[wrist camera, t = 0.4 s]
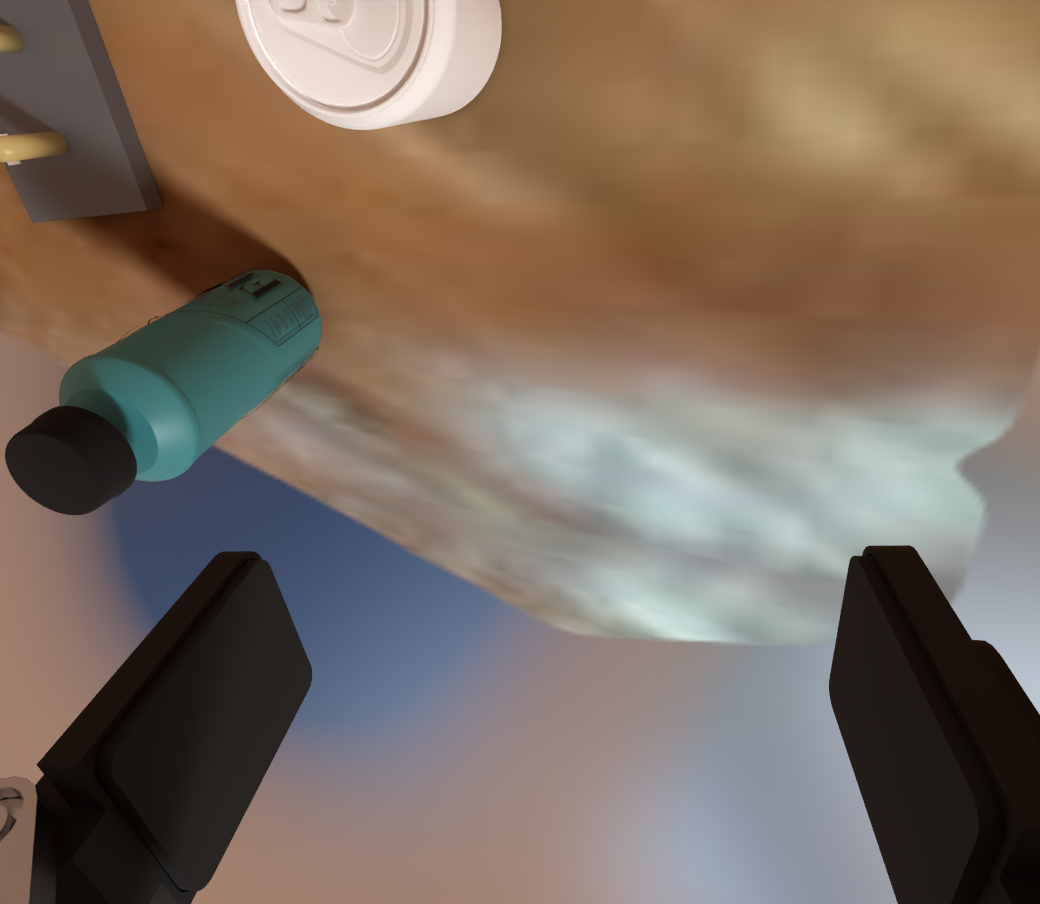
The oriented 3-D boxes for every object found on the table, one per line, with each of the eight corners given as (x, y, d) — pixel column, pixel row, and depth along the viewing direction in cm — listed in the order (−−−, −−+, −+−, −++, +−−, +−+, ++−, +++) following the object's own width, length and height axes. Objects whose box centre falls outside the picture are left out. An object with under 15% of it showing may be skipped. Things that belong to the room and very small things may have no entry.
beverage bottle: (318, 253, 39) (77, 390, 22) (348, 355, 42) (159, 544, 25) (223, 265, 40) (-75, 403, 23) (259, 363, 43) (21, 548, 26)
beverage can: (482, 137, 34) (422, 161, 24) (338, 90, 34) (216, 94, 24) (522, -46, 30) (471, -112, 20) (359, -101, 30) (220, -196, 20)
